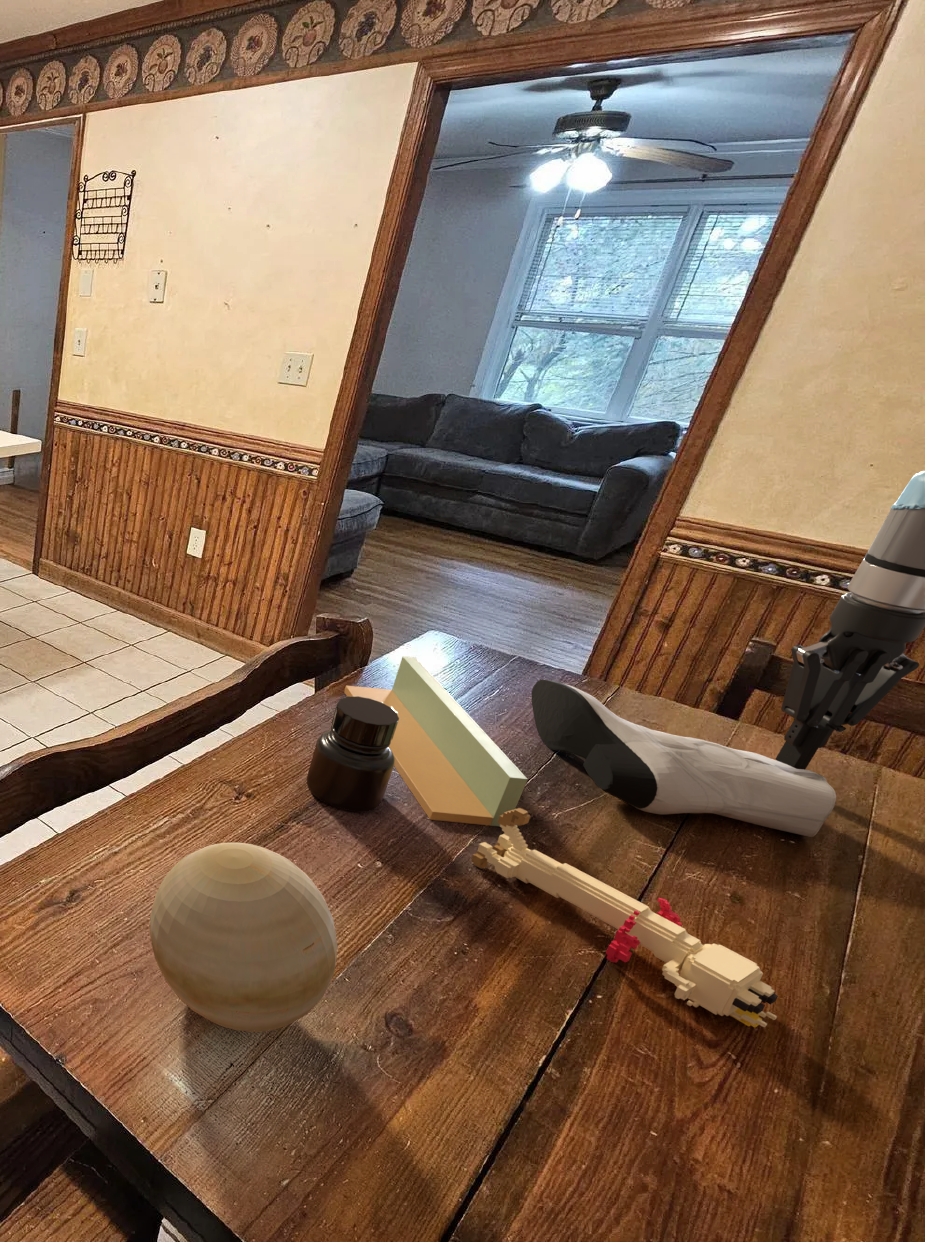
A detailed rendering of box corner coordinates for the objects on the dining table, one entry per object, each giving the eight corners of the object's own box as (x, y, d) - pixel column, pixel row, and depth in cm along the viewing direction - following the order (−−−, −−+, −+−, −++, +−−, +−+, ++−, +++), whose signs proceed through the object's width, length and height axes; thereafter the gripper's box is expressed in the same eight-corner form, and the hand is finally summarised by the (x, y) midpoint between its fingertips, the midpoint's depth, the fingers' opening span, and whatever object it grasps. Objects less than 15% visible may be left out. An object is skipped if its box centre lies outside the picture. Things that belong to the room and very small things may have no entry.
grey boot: (626, 764, 94) (876, 805, 89) (541, 651, 117) (736, 678, 112) (591, 824, 98) (827, 866, 94) (516, 703, 122) (702, 732, 117)
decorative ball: (286, 1109, 61) (334, 969, 55) (110, 1009, 69) (134, 875, 62) (331, 982, 72) (375, 854, 66) (175, 908, 80) (202, 786, 73)
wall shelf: (403, 697, 123) (416, 657, 120) (507, 827, 95) (528, 779, 92) (343, 692, 124) (355, 652, 121) (429, 819, 95) (447, 771, 92)
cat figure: (455, 879, 87) (738, 1052, 67) (474, 812, 84) (777, 971, 64) (510, 856, 92) (792, 1011, 71) (530, 791, 88) (832, 933, 68)
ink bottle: (382, 783, 102) (409, 703, 96) (387, 823, 94) (416, 737, 89) (302, 764, 105) (324, 685, 100) (300, 801, 97) (324, 717, 92)
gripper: (916, 594, 97) (817, 754, 108) (803, 585, 98) (716, 744, 109) (979, 619, 91) (868, 787, 101) (857, 608, 92) (759, 776, 102)
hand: (789, 765), depth 105 cm, fingers closed
